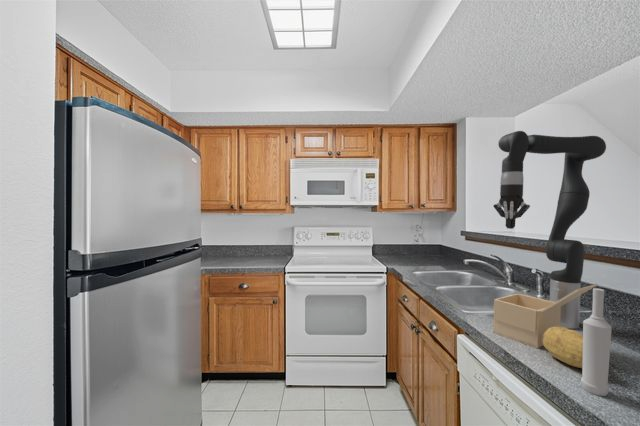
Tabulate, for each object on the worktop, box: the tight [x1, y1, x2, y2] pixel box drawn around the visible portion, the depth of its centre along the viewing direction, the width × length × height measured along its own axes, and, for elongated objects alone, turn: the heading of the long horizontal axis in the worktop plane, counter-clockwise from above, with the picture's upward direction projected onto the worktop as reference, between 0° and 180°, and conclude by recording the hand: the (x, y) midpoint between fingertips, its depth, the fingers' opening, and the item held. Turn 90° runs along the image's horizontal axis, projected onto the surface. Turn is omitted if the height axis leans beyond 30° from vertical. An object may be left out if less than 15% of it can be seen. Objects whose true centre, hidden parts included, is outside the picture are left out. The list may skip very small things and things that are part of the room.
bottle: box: [580, 287, 613, 397], centre depth 75 cm, size 5×5×25 cm
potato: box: [542, 327, 583, 369], centre depth 88 cm, size 10×14×10 cm
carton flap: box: [541, 283, 599, 312], centre depth 96 cm, size 15×13×1 cm
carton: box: [492, 293, 561, 349], centre depth 107 cm, size 17×14×12 cm
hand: (510, 228), depth 119 cm, fingers closed
